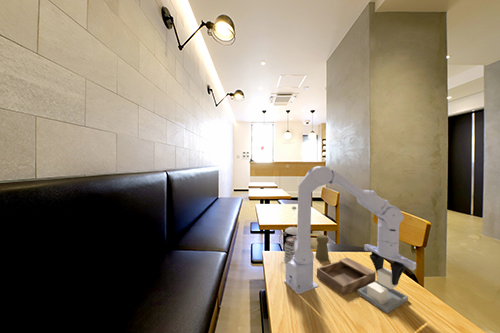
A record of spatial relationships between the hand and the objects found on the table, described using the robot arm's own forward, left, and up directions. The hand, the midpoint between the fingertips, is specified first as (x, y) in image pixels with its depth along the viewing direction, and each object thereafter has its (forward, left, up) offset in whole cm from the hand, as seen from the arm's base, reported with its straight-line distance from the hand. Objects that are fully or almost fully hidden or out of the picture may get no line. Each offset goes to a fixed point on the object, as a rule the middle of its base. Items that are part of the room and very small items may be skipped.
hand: (387, 280), depth 61 cm
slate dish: (-3, 0, -5) cm, 6 cm away
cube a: (-6, 0, -5) cm, 7 cm away
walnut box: (-5, +12, -5) cm, 14 cm away
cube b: (0, 0, -1) cm, 1 cm away
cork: (-1, +27, -6) cm, 27 cm away
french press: (-15, +32, -6) cm, 36 cm away
